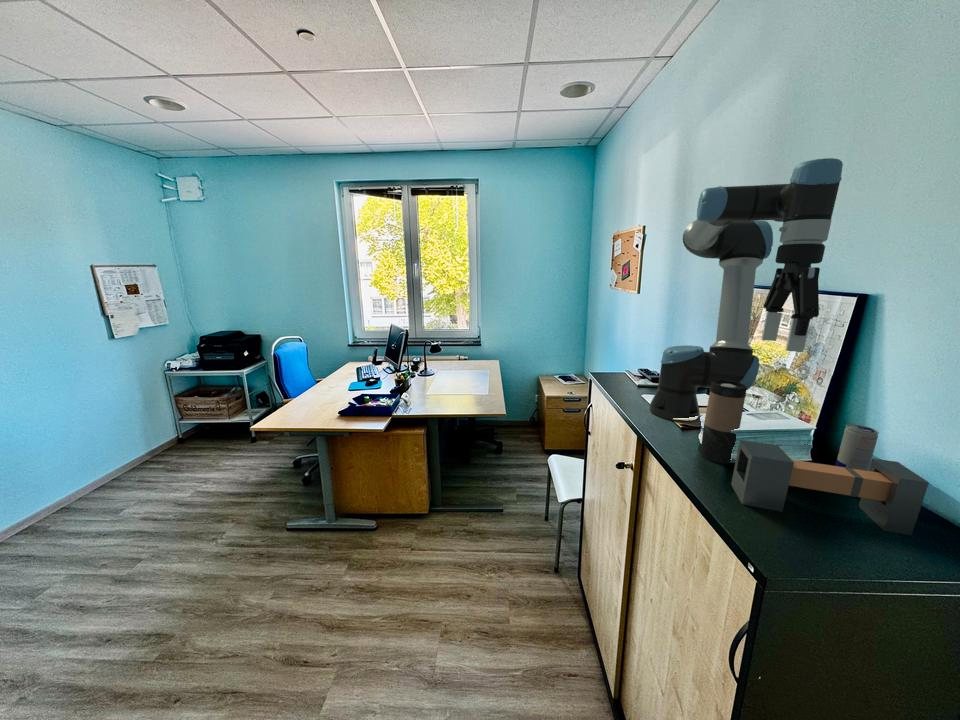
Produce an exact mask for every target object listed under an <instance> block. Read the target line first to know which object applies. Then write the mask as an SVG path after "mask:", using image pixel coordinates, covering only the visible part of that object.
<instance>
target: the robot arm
mask: <svg viewBox="0 0 960 720" xmlns="http://www.w3.org/2000/svg"><path fill="white" fill-rule="evenodd" d="M843 165H844V164H843V161H842V160H841V159H838V158H832V157H829V158H826V157H825V158H817V159H810V160H807V161H803V162H801V163H798V164H797V165H795V166H794V168H793V171H792V174H791V176H790V179H789V181H790V183H775V184H774V183H773V184H760V185H757V184H756V185H755V184H754V185H739V186H738V185H737V186H736V185H735V186H722V185H721V186H720V185H719V186H716V187H708V188H704V189H703V190H702V191H701V192H700V196H699V198H698V202H697V209H696V219H695V220H693V221H691V223H689V224H688V225H687V227H686V228H685V230H684V232H683V233H682V243H683V247H685V249H686V250H687V251H688V252H689V253H691V254H693V255H694V256H697V257H700V258H704V259H716V260H717V259H719V260H718V266H719V267H720V268H722V270H723V274H722V281H721V282H722V283H721V292H720V293H721V294H720V300H719V301H720V302H719V308H718V309H719V311H718V318H717V319H718V320H717V328H716V336H715V337H716V338H715V342H714V343H713V344H711V345H710V346H709V350H708V351H705V350H704V348H703V347H702V346H698V345H674V346H670V347H669V346H668V347H666V348H665V349H664V350H663V352H662V356H661V360H660V364H661V366H660V372H659V379H658V384H657V390H656V391H655V394H654V396H653V397H652V400H651V401H650V404H649V412H650V413H652V414H653V415H654V416H657V417H659V418H662V419H665V420H670V421H673V420H672V419H673V418H689V417H695V416H698V415H699V416H700V408H699V406H700V405H699V403H698V398H697V392H698V388H707V389H710V388H711V382H713V383H714V382H715V381H716V380H728V381H734V382H738V383H741V384H744V385H746V386H747V390H746V391H748V390H750V388H751V387H752V386H753V385H754V383H755V382H756V379H757V377H758V373H759V370H760V359H759V357H758V356H757V355H756V354H754V349H753V347H752V346H750V344H749V335H750V326H751V318H752V307H753V301H754V290H755V283H756V281H755V280H756V274H757V273H756V272H757V268H758V267H760V266H761V265H762V264H764V263H763V262H764V260H766V259H767V258H769V256H771V252H772V250H773V249H772V248H773V246H774V245H773V244H774V232H773V228H772V225H771V224H770V222H768V221H774V222H777V223H782V226H780V227H779V228H778V231H779V233H780V232H781V233H780V237H779V242H780V243H782V244H781V245H779V246H778V247H777V251H776V255H775V263H776V264H783V265H784V266H783V267H782V268H780V267H779V268H776V270H775V273H774V277H773V280H772V283H771V286H770V289H769V291H768V293H767V295H766V299H765V301H764V304H763V309H765V311H766V312H765V313H766V315H765V319H764V324H763V330H762V335H761V338H760V339H761V341H770V342H771V341H773V342H777V339H778V334H779V329H780V325H781V324H780V323H781V318H782V314H783V313H784V308H783V307H784V305H785V304H786V302H787V300H788V298H789V297H790V296H791V298H792V304H793V312H794V313H793V314H792V315H791V316H790V319H791V323H790V325H789V326H790V328H789V331H788V337H787V340H786V346H785V351H786V352H794V353H795V352H797V353H804V350H805V346H806V341H807V337H808V332H809V328H810V323H811V320H813V318H818V317H819V315H820V307H819V306H820V305H819V304H820V303H819V302H820V299H819V296H820V295H819V294H820V293H819V279H820V271H821V269H820V267H818V266H817V267H813V266H811V265H813V264H815V265H816V264H820V263H822V262H823V259H824V256H825V255H824V254H825V250H826V246H825V244H824V242H827V241H828V239H829V233H830V229H831V225H832V217H833V213H834V209H835V205H836V200H837V196H838V192H839V188H840V183H841V181H842V173H843Z"/></svg>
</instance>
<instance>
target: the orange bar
mask: <svg viewBox="0 0 960 720" xmlns="http://www.w3.org/2000/svg"><path fill="white" fill-rule="evenodd" d="M791 460H792V461H793V462H794V464H793V469H792V473H791V477H790V482H789V486H790V487H797V488H802V489H808V490H815V491H821V492H825V493H833V494H837V495H838V494H839V495H844V496H849V497H855V498H860V499H861V498H867V499H873V500H879V501H885V502H886V501H887V498H888V495H889V492H890V488H891V485H892V482H893V481H892V480H890V479H889V478H888V477H886V476H885V475H884V474H882V473H879V472H872V471H869V470H868V471H865V470H858V469H852V468H847V467H838V466H835V465H831V464H824V463H819V462H818V463H816V462H810V461H804V460H802V461H801V460H796V459H791ZM789 486H788V487H789Z"/></svg>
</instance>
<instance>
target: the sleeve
mask: <svg viewBox="0 0 960 720" xmlns="http://www.w3.org/2000/svg"><path fill="white" fill-rule="evenodd" d="M792 460H793V459H791V458H790V457H789V456H788V454H787V453H786V452H785V451H784V450H783V449H782V448H781V447H780V446H779V445H778V444H772V443H766V442H765V443H764V442H757V441H751V440H743V439H740V440H739V442H738V447H737V453H736V458H735V463H734V468H733V474H732V477H731V483H730V486H732V489H733V491H734V492H735V494H736V495H737V498H738V500H739V501H740V503H741V504H742V505H743V506H749V507H750V506H751V507H756V508H759V509H766V510H771V511H775V512H781V513H782V512H783V511H784V507H785V502H786V498H787V493H788V489H789V482H790V477H791V473H792V469H793V464H794V462H793V461H792Z"/></svg>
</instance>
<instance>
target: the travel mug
mask: <svg viewBox="0 0 960 720" xmlns="http://www.w3.org/2000/svg"><path fill="white" fill-rule="evenodd" d="M709 389H710V390H709V395H708V400H707V405H706V411H705V417H704V422H703V431H702V438H701V444H700V456H701V457H702V458H703V459H705V460H707V461H709V462H712V463H716V464H717V463H718V464H724V465H725V464H730V463H731V460H730V459H731V453H732V449H733V447H734V445H735V441H736V434H734V433H731V430H734V429H738V428H740V427H741V424H742V423H741V422H742V416H743V411H744V406H745V399H746V394H747V391H748V390H747V386H746V385H744V384H741V383H738V382H734V381H728V380H716V381H715V382H714V383H713V382H711V388H709Z"/></svg>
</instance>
